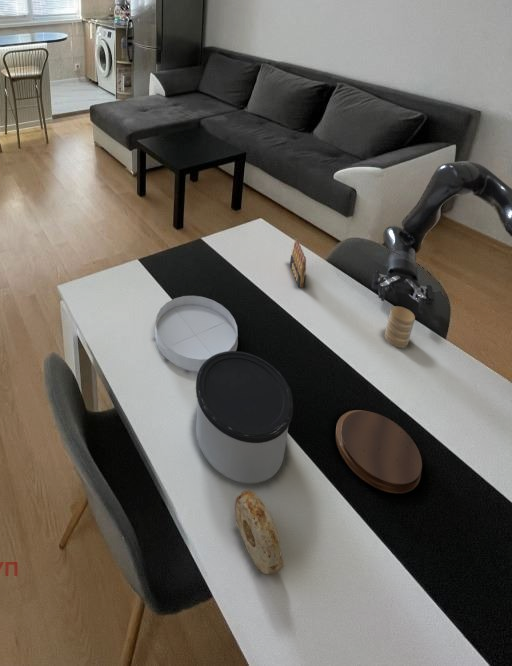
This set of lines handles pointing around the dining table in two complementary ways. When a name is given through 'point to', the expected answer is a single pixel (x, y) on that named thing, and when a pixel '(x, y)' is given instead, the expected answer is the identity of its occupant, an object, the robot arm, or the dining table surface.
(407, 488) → the brown round base
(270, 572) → the bagel
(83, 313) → the dining table surface
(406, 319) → the chip roll
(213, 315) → the dish
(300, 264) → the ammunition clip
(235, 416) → the container
